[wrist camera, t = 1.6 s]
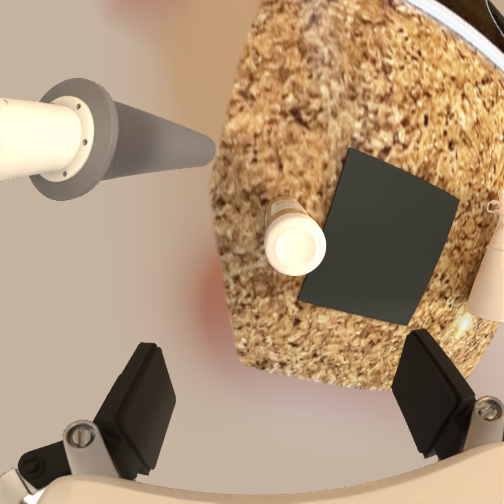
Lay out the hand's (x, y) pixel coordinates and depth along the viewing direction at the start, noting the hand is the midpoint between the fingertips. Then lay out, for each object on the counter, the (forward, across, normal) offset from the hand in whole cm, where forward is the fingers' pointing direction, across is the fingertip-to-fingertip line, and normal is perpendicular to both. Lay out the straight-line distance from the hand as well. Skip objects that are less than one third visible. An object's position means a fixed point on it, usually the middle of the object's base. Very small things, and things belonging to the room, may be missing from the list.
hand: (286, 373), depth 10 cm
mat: (+25, -15, +4) cm, 29 cm away
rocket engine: (+25, -36, +5) cm, 44 cm away
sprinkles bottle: (+25, -2, -1) cm, 25 cm away
